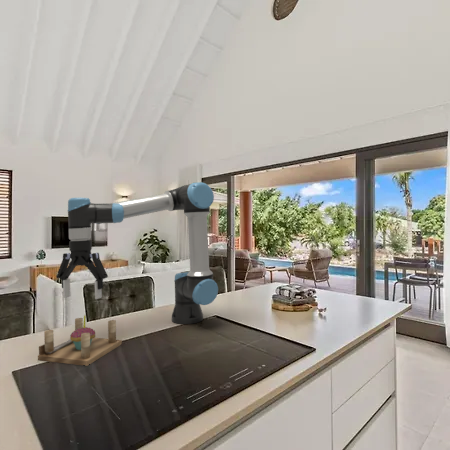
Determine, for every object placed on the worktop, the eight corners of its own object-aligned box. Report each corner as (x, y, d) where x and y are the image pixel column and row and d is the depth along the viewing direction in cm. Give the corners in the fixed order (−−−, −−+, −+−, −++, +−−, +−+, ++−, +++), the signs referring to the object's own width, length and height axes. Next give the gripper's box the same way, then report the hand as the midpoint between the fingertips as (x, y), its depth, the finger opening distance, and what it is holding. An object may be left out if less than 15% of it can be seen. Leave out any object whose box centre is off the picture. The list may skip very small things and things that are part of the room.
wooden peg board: (121, 344, 126) (121, 319, 126) (87, 365, 107) (86, 337, 107) (78, 340, 131) (77, 316, 131) (37, 360, 112) (37, 332, 112)
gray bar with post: (77, 340, 125) (77, 320, 125) (49, 354, 112) (49, 332, 112) (71, 339, 126) (71, 320, 126) (42, 353, 113) (42, 331, 113)
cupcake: (76, 343, 123) (75, 311, 123) (98, 342, 123) (98, 311, 123) (66, 352, 114) (66, 318, 114) (91, 351, 115) (90, 317, 115)
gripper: (116, 238, 119) (118, 296, 119) (59, 239, 126) (61, 294, 126) (103, 240, 112) (105, 301, 112) (44, 241, 118) (46, 299, 119)
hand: (82, 297), depth 119 cm, fingers open, 13 cm apart
